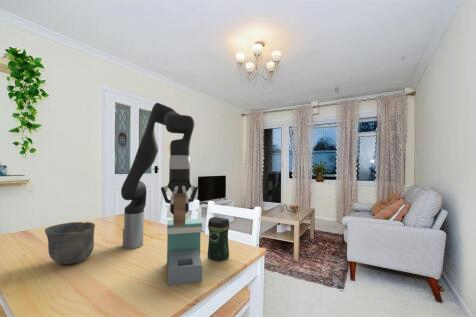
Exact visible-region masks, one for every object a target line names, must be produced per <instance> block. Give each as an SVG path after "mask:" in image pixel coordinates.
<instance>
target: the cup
mask: <svg viewBox="0 0 476 317" xmlns="http://www.w3.org/2000/svg"><path fill="white" fill-rule="evenodd" d="M95 227H96V225H95V222H89V221H87V222H83V221H78V222H77V221H74V222H67V223H66V222H65V223H60V224H55V225H52V226H48V227H46V228H45V229H44V233H45V235H46V238H47V244H48V246H47V249H48V250H47V251H48V255H49V257H50V259H51V260H52V261H53V262H56V263H58V264H61V265H74V264H77V263H78V264H79V262H82V261H85V260H86V259H87V258H89V257H90V256H91V254H92V253H93V252H94V247H95V243H94V242H95V240H94V239H95V238H94V237H95V229H96V228H95Z"/></svg>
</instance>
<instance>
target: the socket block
mask: <svg viewBox="0 0 476 317" xmlns="http://www.w3.org/2000/svg"><path fill="white" fill-rule="evenodd" d="M167 270H168V271H167V273H168V274H167V276H168V277H167V285H168V286H175V285H176V286H177V285H182V284H183V285H184V284H192V283H201V282H203V263H202V259H201V253H200V254H199V250H198V249H191V250H179V251H170V252H169V265H168V268H167Z"/></svg>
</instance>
